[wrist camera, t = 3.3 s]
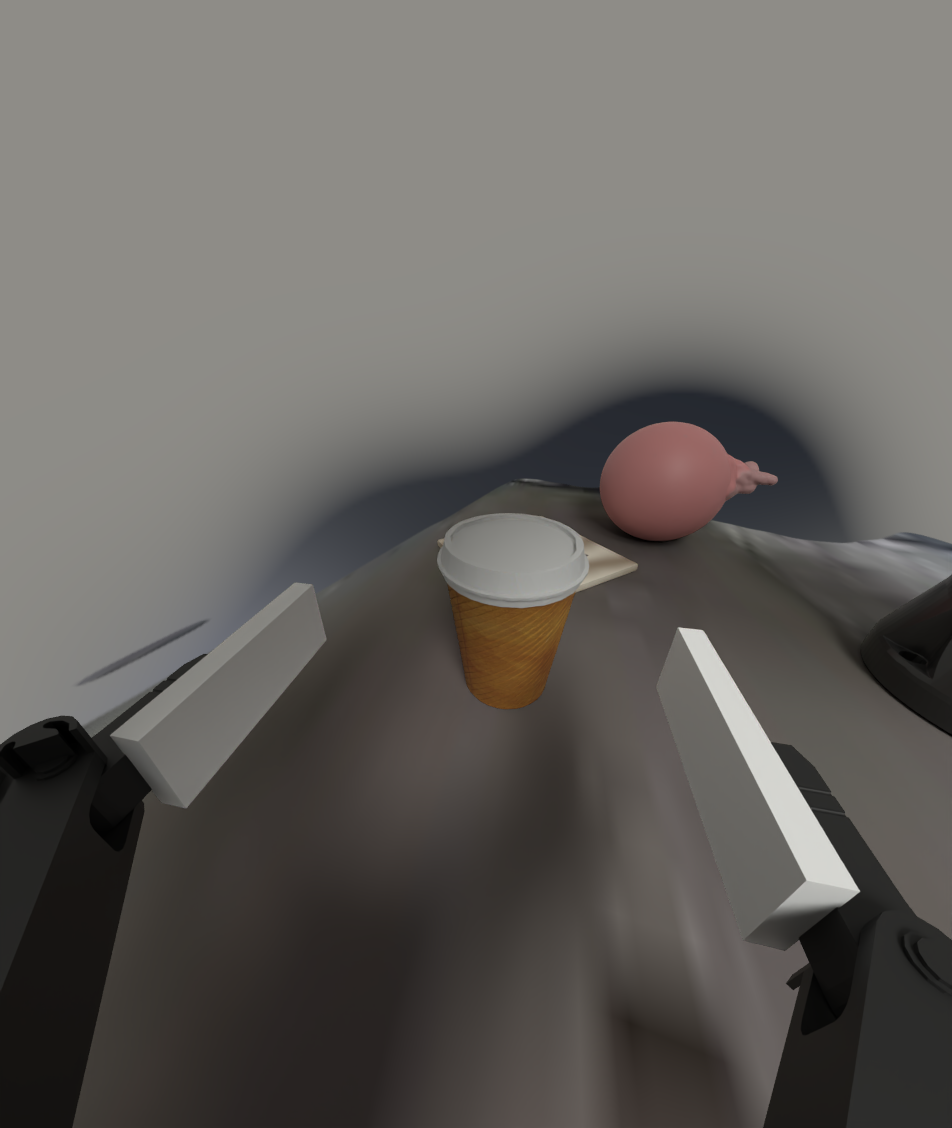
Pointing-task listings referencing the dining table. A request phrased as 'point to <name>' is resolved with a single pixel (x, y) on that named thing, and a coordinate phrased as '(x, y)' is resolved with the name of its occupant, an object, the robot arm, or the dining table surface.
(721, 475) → the balloon
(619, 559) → the board
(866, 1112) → the robot arm
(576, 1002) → the dining table surface
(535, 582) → the disposable coffee cup
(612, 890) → the dining table surface
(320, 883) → the dining table surface
